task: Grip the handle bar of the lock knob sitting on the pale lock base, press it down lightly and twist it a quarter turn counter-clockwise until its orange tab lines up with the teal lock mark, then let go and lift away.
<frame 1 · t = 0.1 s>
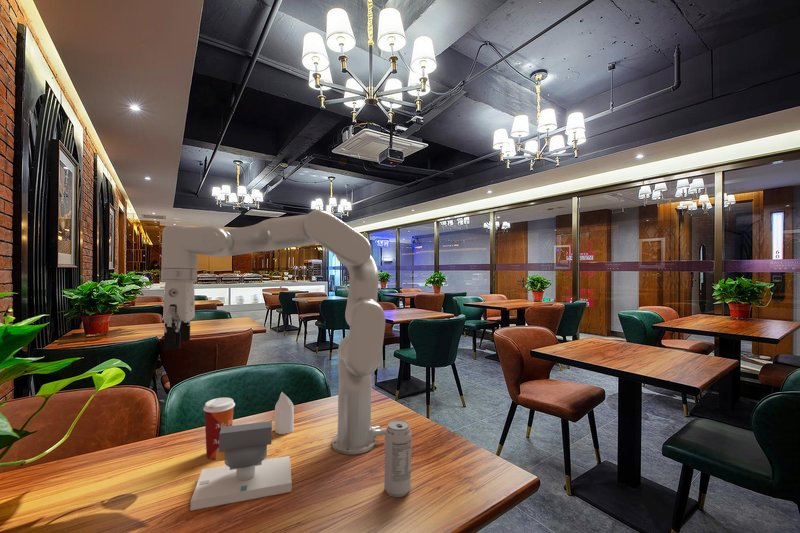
hand: (177, 344, 86), 31 cm above the table, tool pointing down, fingers open, 9 cm apart
lock knob: (244, 442, 81), point 10 cm above the table, hinge at 0.0°
energy drink can: (397, 491, 80), on the table
lock base: (245, 484, 81), on the table
white pointed block: (283, 431, 108), on the table
paper cup: (218, 454, 94), on the table
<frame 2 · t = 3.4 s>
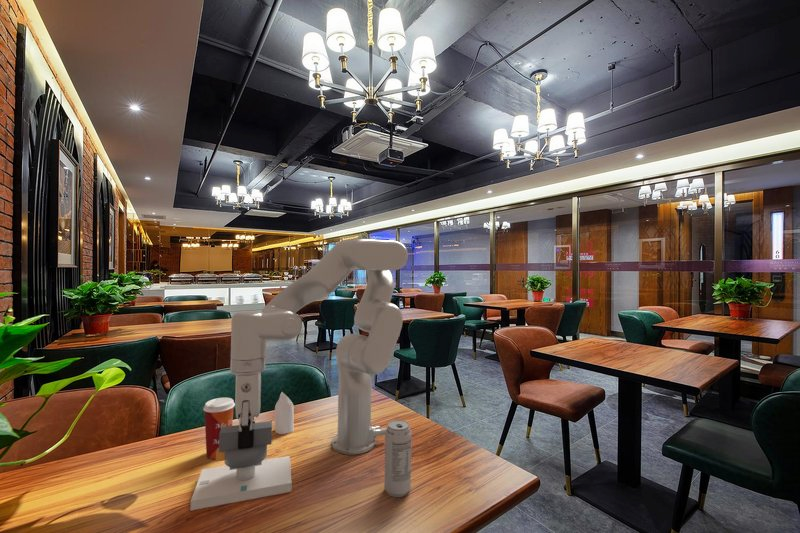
hand: (246, 442, 81), 10 cm above the table, tool pointing down, fingers closed on lock knob, 3 cm apart
lock knob: (244, 442, 81), point 10 cm above the table, hinge at 0.0°, touching gripper
everything else where it was.
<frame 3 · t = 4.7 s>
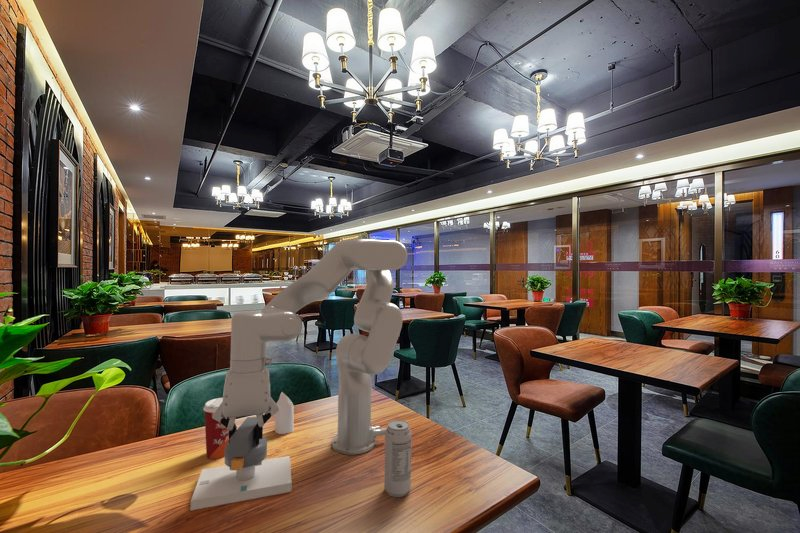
hand: (245, 442, 81), 10 cm above the table, tool pointing down, fingers closed on lock knob, 4 cm apart
lock knob: (245, 442, 81), point 10 cm above the table, hinge at 75.4°, touching gripper
everything else where it was.
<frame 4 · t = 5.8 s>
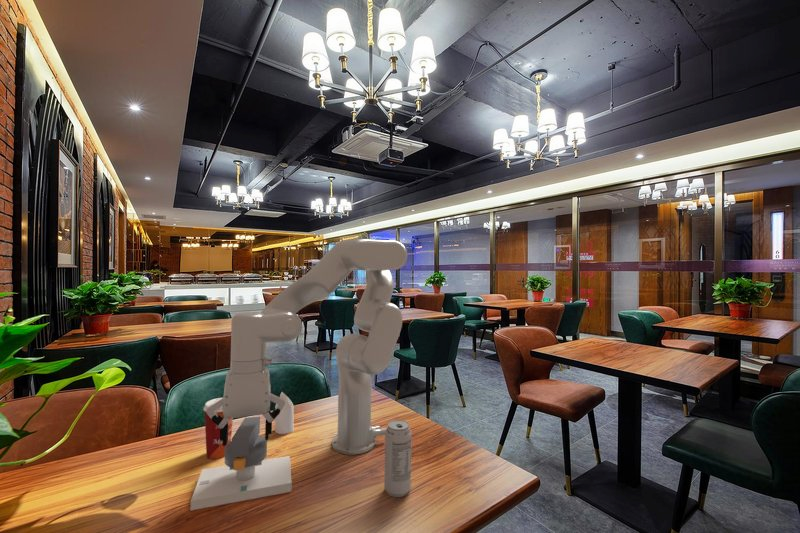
hand: (246, 440, 81), 10 cm above the table, tool pointing down, fingers open, 8 cm apart
lock knob: (246, 442, 81), point 10 cm above the table, hinge at 80.2°
everything else where it was.
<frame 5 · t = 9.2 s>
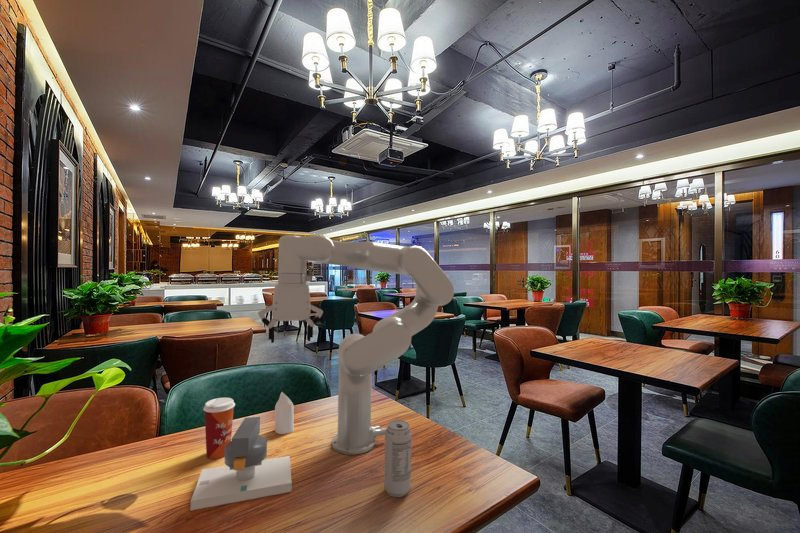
hand: (290, 341, 97), 30 cm above the table, tool pointing down, fingers open, 9 cm apart
nothing on the table moved.
at the end: lock knob at +80° (first picture: +0°); the gripper is holding nothing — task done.
